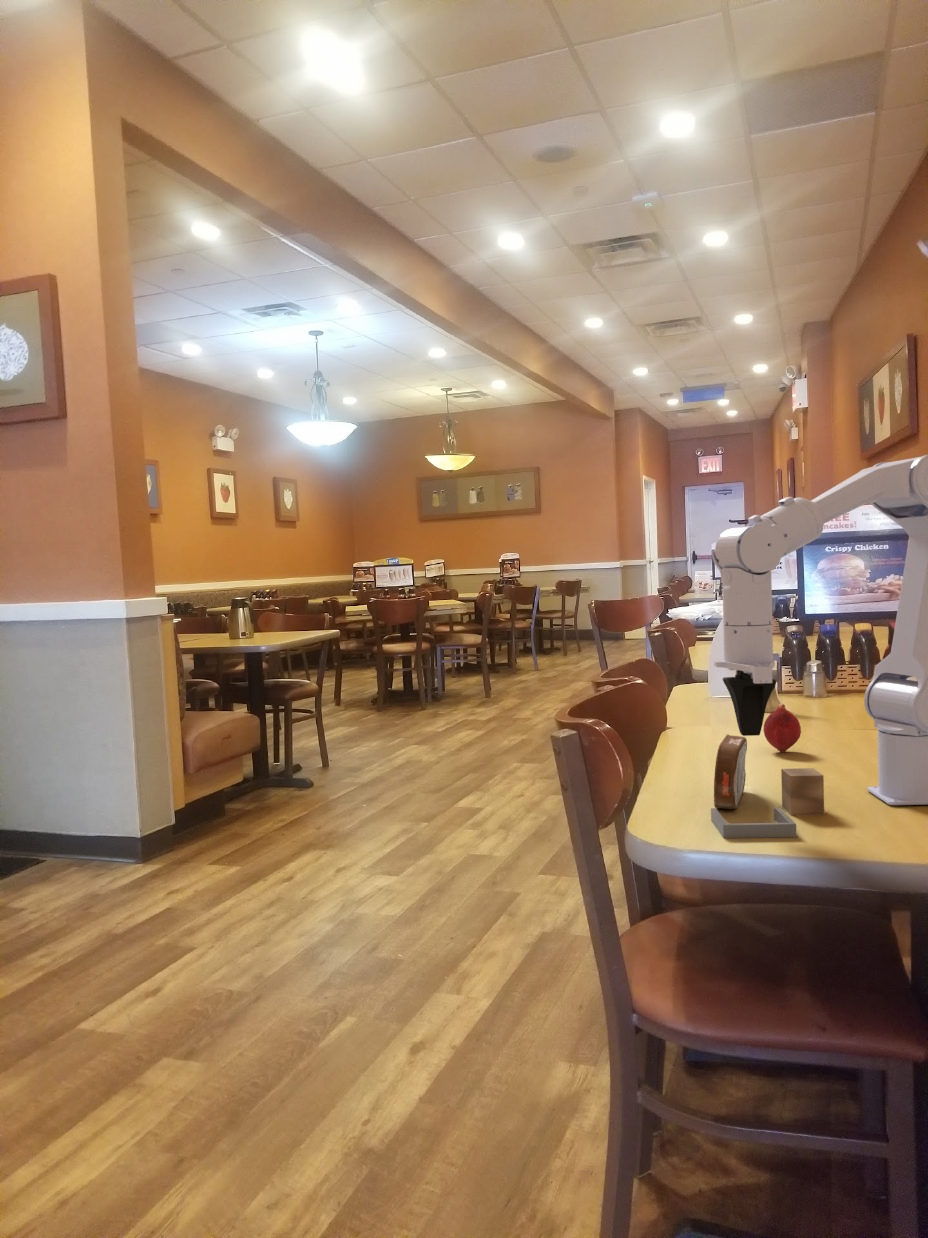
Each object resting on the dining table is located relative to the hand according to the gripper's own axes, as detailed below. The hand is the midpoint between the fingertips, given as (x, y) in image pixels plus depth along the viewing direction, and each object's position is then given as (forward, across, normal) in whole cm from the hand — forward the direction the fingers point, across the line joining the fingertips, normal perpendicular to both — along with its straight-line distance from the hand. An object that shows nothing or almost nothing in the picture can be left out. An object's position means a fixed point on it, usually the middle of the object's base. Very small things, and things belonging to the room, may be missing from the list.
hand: (750, 734), depth 109 cm
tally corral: (+10, +4, -1) cm, 11 cm away
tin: (+11, -8, -1) cm, 13 cm away
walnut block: (+10, -3, +7) cm, 13 cm away
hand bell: (+11, -81, +22) cm, 85 cm away
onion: (+11, -38, +14) cm, 42 cm away
